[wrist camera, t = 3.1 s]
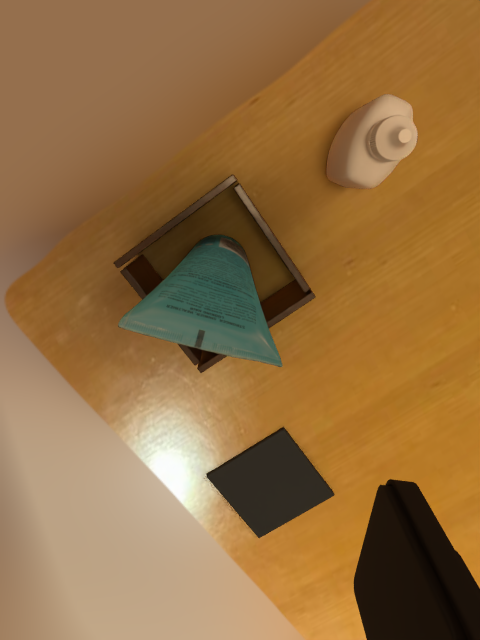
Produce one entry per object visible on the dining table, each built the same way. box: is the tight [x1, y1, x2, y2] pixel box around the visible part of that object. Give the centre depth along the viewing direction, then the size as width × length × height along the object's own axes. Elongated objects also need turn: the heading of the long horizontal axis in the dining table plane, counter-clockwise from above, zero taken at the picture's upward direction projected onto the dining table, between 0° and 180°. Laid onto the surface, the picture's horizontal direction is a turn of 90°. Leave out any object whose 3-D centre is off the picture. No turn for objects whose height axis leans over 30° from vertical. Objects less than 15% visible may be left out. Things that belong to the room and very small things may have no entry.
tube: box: [118, 235, 282, 367], centre depth 29 cm, size 7×5×19 cm, turn 80°
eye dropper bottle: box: [326, 94, 418, 189], centre depth 30 cm, size 4×6×12 cm
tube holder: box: [114, 175, 316, 373], centre depth 36 cm, size 10×10×6 cm
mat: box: [207, 427, 334, 538], centre depth 45 cm, size 9×9×1 cm
